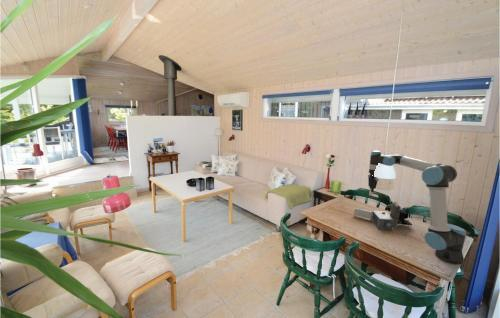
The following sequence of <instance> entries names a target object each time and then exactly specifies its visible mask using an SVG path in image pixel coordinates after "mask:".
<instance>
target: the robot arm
mask: <svg viewBox="0 0 500 318" xmlns="http://www.w3.org/2000/svg"><path fill="white" fill-rule="evenodd" d="M369 159H370V160H369V168H368V174H369V175H367V177H368V178H367V179H368V182H367V183H368V187H369V191H368V192H369V193H368V196H370V197H371V196H374V190H375V189H376V188H377V185H378V181H379V178H378V176H377V177H374V171H375V169H376V166H377V165H378V163H380V164H381V165H383V166H388V167H392V166H394V165H399V166H403V167H407V168H409V169H413V170H416V171H417V170H418V171H420V172H421V180H422V182H424V184H425V186H426V187H427V188H428V191H429V194H428V195H429V215H430V218H429V219H430V224H429V225H427V231H426V233H425V234H424V241H425V243H426V244H427V245H428V247H430V248H431V249H434V255H435V256H436V257H437V258H438V259H440V260H441V261H444V262H446V263H448V264H452V265H462V264H463V263H464V259H465V258H464V254H463V249H464V243H465V241H466V237H467V231H466V229H464V228H462V227H460V226H457V225H454V224H450V223H448V211H447V209H448V206H447V189H449V187H450V185H449V183H452V182H454V181H455V180H456V178H457V177H458V171H457V169H456V168H455V167H453V166H452V165H448V164H444V163H433V162H429V161H425V160H421V159H417V158H412V157H410V156H409V157H408V156H405V155H404V154H399V153H398V154H388V155H387V154H382V151H379V150H371V152H370V158H369ZM372 175H373V176H372Z"/></svg>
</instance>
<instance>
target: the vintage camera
mask: <svg viewBox="0 0 500 318" xmlns="http://www.w3.org/2000/svg"><path fill="white" fill-rule="evenodd" d="M401 208H402V207H401V206H400V205H399V204H398V203H397V202H396V201H394V202H392V204H391V209H390V214H389V215H390V216H391V217H392V219H393V226H392V228H397V227H398V225H404V226H408V227H409V226H413V224H412V223H411V222H410V220H409V219H408V218H409V216H410V214H409V213H410V210H409V209H406V211H404V210H402V209H401Z"/></svg>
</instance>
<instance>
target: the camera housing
mask: <svg viewBox="0 0 500 318" xmlns="http://www.w3.org/2000/svg"><path fill="white" fill-rule="evenodd" d="M372 212H373V213H372V220H371V221H372V223H374V225H375V226H376V228H377V229H382V230H393V219H392V217H391V216H390V214H389V213H388V212H387V211H385V210H372Z"/></svg>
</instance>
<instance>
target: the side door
mask: <svg viewBox="0 0 500 318" xmlns="http://www.w3.org/2000/svg"><path fill="white" fill-rule="evenodd" d="M353 209H354V210H353V211H354V212H353V216H357V217H361V218H365V219H369V220H370V221H372V214H373V211H372V210H366V209H361V208H358V207H357V208H356V207H354V208H353Z"/></svg>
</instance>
